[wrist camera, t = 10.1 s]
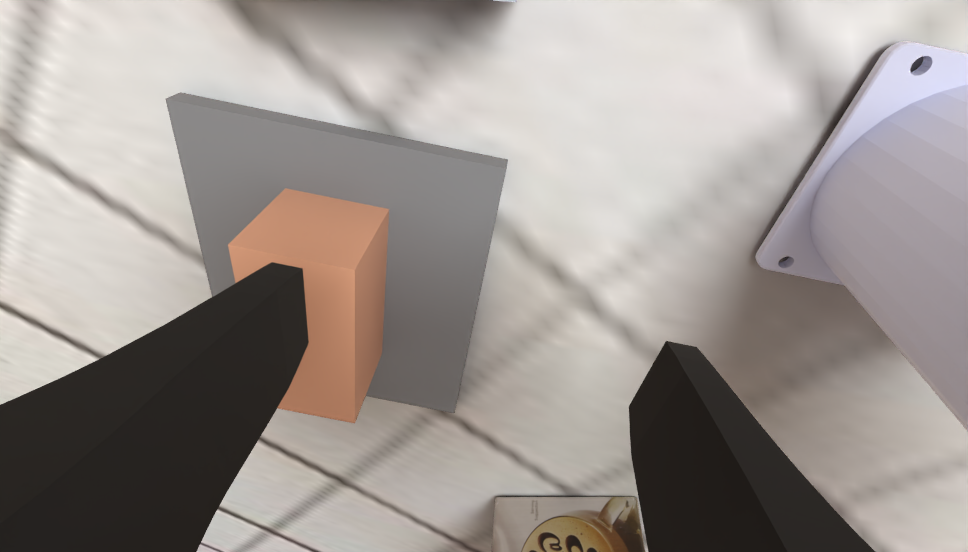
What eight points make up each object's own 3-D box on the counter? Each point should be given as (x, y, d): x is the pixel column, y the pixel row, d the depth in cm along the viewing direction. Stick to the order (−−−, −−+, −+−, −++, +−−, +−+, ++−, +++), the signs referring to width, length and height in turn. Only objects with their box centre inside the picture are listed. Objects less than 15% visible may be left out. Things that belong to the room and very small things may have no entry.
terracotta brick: (285, 188, 18) (227, 244, 15) (389, 209, 18) (354, 269, 15) (300, 337, 23) (259, 404, 19) (381, 353, 23) (354, 423, 19)
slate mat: (507, 159, 17) (506, 168, 16) (456, 401, 25) (454, 413, 25) (180, 92, 17) (165, 98, 16) (237, 357, 25) (229, 369, 25)
